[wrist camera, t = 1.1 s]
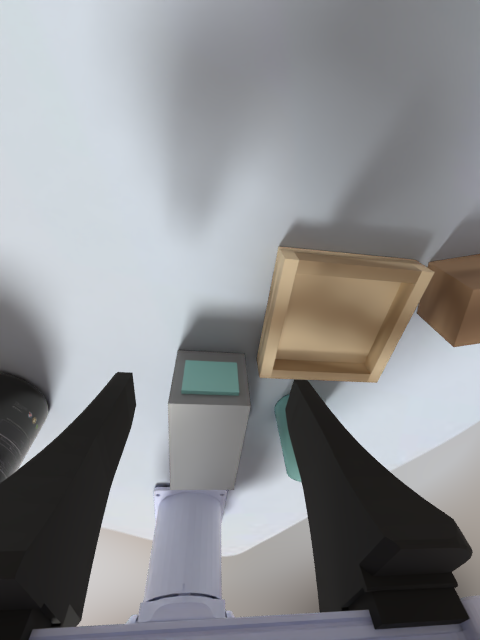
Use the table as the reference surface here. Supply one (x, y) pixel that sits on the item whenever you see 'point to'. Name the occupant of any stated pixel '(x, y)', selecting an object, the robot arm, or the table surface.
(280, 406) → the teal peg
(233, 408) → the gray block
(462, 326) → the walnut block
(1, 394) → the supplement bottle
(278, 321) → the birch tray
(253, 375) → the table surface
